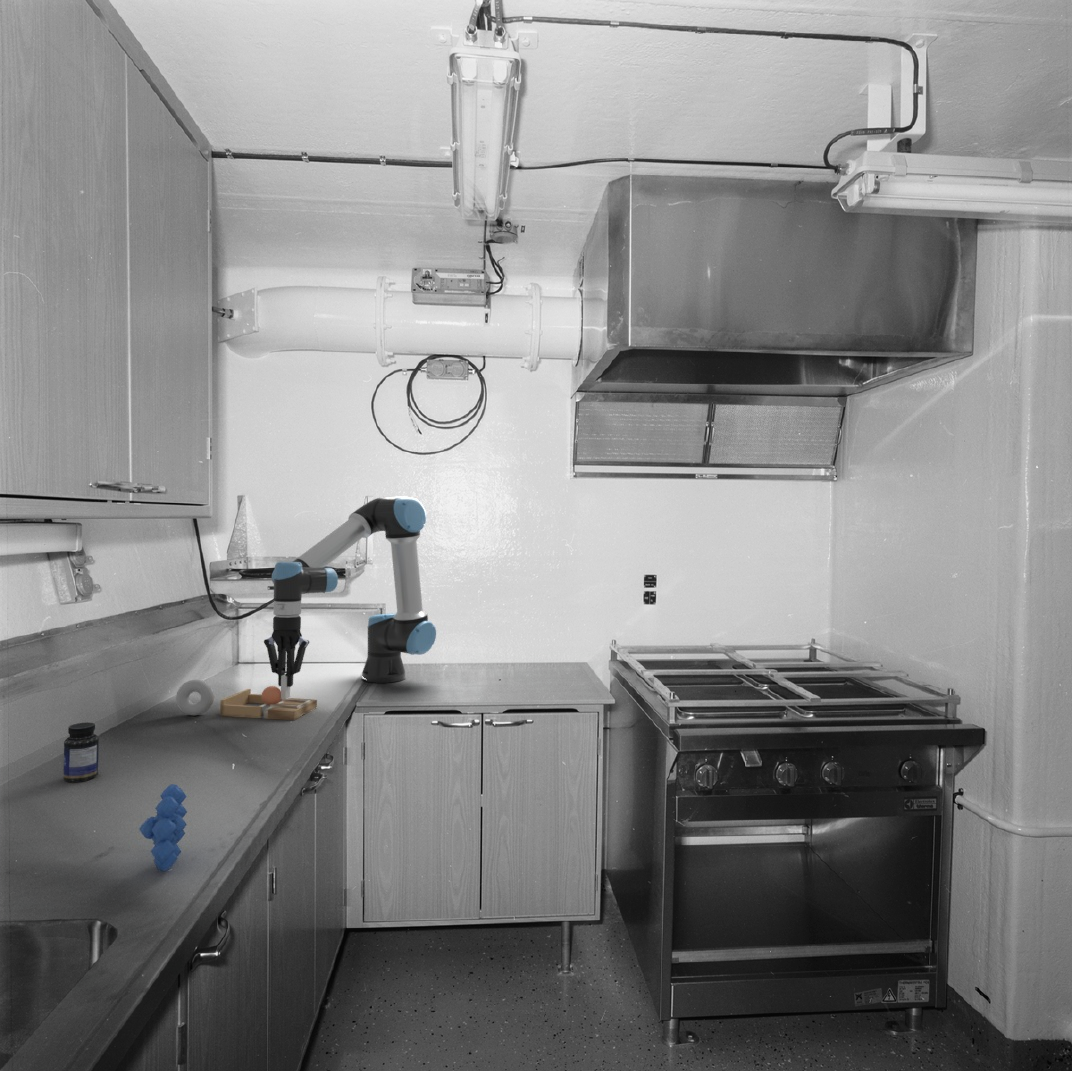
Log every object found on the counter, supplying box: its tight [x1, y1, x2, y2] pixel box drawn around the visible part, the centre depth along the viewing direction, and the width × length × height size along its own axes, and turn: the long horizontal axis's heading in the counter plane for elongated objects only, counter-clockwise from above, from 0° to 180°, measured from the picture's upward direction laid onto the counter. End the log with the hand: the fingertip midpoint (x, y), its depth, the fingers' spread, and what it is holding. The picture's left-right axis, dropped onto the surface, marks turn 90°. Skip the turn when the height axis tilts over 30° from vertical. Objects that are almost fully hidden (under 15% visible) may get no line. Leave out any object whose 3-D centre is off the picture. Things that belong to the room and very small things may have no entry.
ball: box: [261, 685, 281, 705], centre depth 199 cm, size 5×5×5 cm
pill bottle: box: [63, 721, 100, 783], centre depth 146 cm, size 6×6×11 cm
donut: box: [175, 679, 215, 716], centre depth 195 cm, size 10×4×10 cm, turn 98°
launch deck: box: [263, 697, 318, 721], centre depth 200 cm, size 14×9×3 cm, turn 172°
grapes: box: [139, 783, 188, 872], centre depth 110 cm, size 12×7×12 cm, turn 16°
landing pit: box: [219, 688, 282, 719], centre depth 201 cm, size 14×13×4 cm
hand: (285, 697), depth 200 cm, fingers closed
